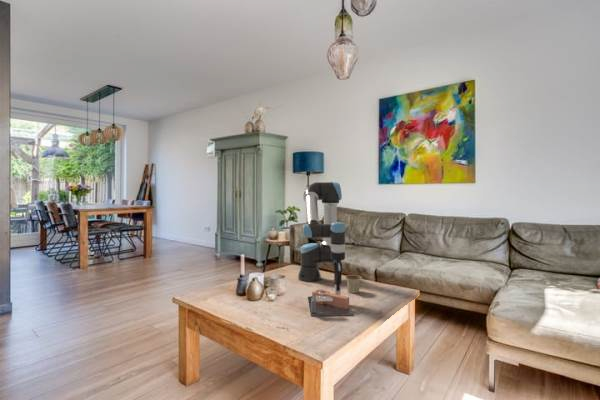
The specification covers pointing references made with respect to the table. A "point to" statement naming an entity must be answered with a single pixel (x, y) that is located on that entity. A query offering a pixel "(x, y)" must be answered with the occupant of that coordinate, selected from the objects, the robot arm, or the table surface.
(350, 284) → the flower pot
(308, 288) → the table surface
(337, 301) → the link
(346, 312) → the pintle base
